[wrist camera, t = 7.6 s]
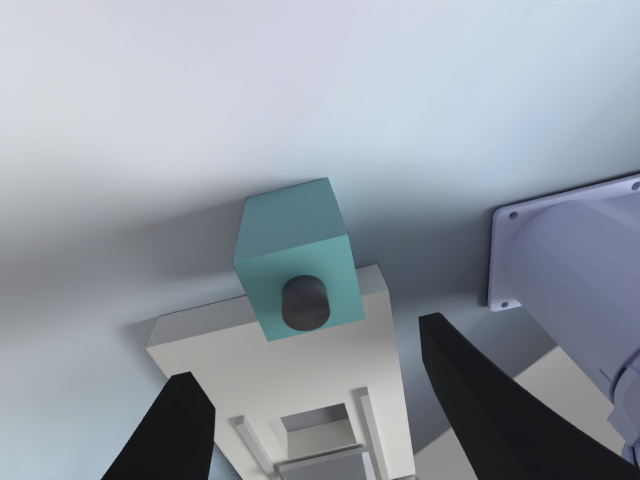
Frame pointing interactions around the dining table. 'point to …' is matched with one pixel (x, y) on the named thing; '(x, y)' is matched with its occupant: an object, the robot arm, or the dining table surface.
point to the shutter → (332, 467)
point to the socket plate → (295, 384)
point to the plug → (297, 261)
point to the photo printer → (407, 478)
